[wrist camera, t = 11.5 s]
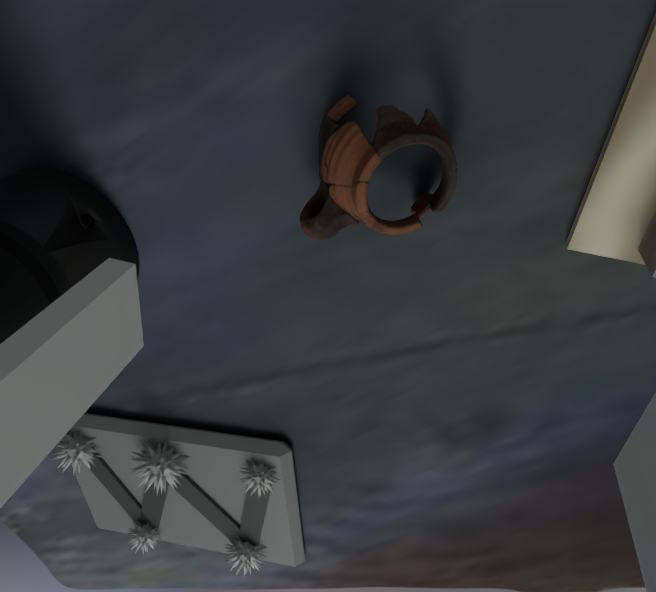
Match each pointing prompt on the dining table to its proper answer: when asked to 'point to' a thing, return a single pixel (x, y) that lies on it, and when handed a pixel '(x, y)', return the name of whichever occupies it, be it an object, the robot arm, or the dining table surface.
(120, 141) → the dining table surface
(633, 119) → the rail block
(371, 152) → the pottery mug
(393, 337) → the dining table surface
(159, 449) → the decorative plate
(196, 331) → the dining table surface
